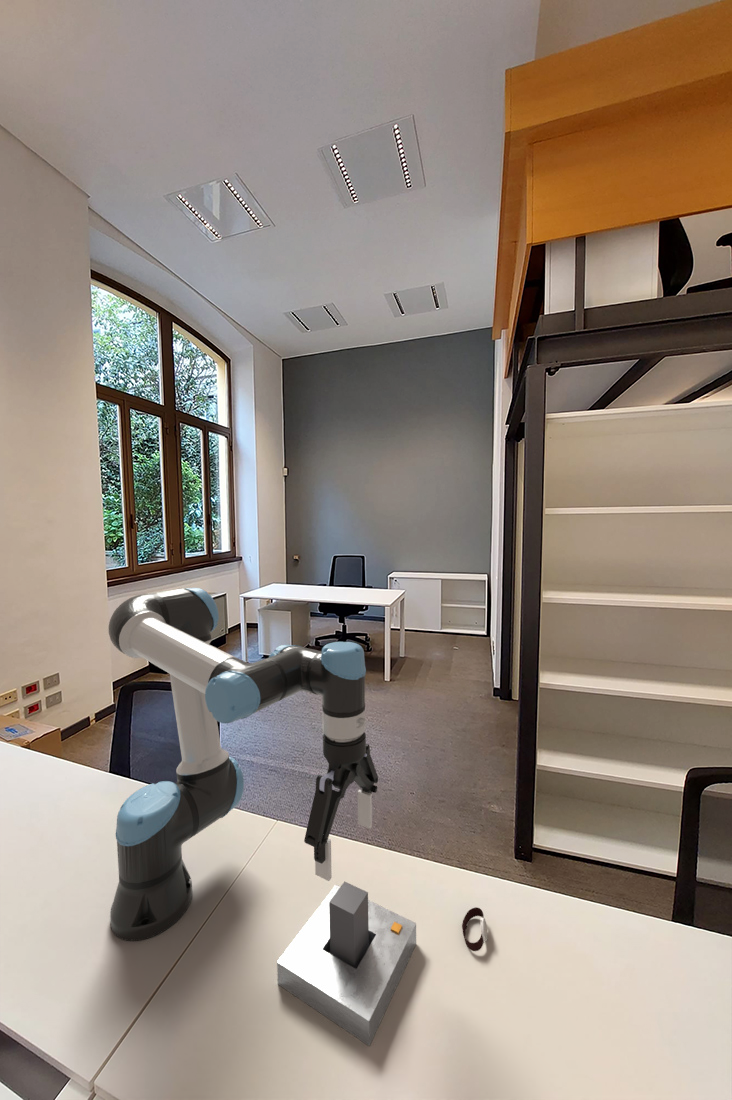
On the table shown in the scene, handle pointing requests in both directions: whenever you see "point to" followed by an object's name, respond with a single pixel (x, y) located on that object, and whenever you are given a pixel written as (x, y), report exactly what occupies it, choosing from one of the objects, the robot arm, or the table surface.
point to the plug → (349, 924)
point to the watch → (484, 933)
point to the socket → (348, 969)
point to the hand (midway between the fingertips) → (345, 849)
